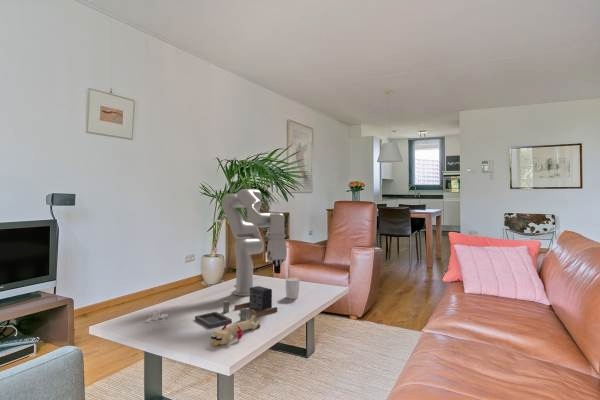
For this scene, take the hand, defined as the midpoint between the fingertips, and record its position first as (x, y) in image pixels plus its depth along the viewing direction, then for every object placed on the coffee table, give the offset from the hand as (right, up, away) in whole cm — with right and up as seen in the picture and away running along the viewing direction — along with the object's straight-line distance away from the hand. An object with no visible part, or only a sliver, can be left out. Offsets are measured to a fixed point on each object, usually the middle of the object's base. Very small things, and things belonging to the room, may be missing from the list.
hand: (277, 273), depth 181 cm
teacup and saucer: (-50, -17, -23) cm, 58 cm away
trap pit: (-27, -17, -24) cm, 40 cm away
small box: (-8, -17, -6) cm, 20 cm away
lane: (-12, -17, -10) cm, 23 cm away
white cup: (+7, -17, +16) cm, 24 cm away
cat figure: (-14, -17, -40) cm, 46 cm away
